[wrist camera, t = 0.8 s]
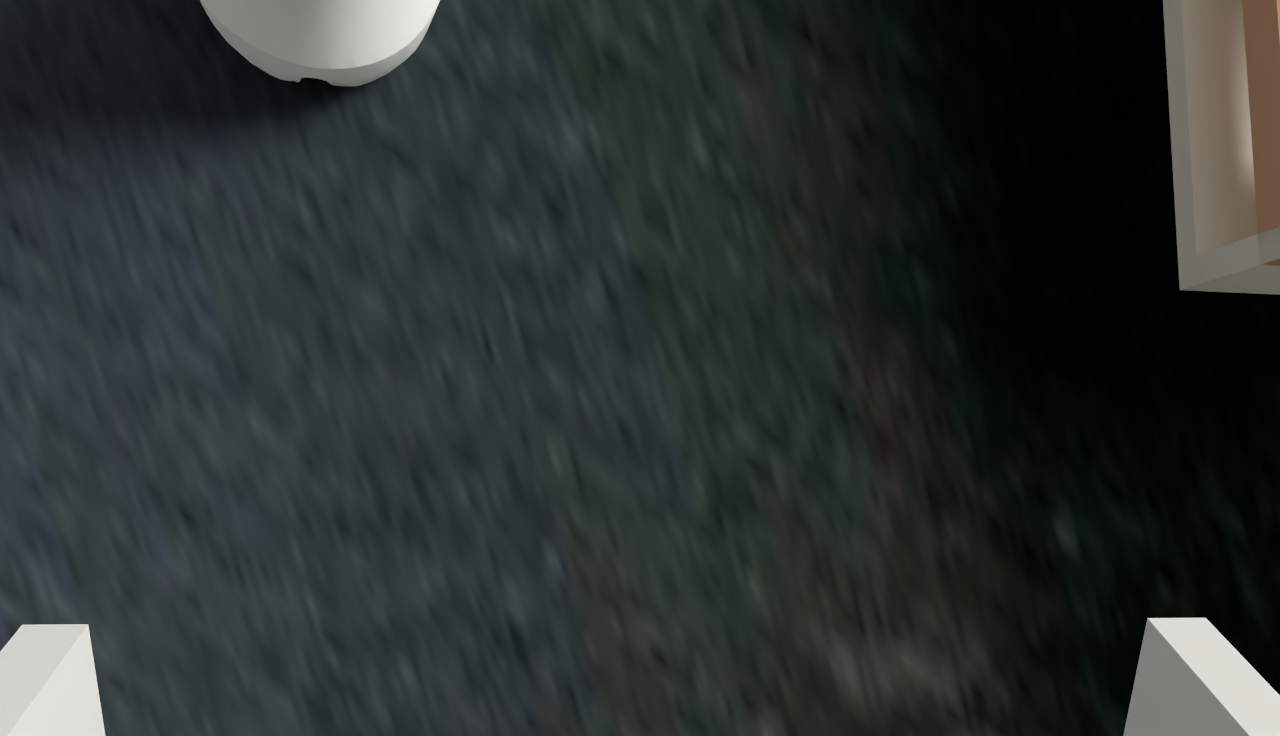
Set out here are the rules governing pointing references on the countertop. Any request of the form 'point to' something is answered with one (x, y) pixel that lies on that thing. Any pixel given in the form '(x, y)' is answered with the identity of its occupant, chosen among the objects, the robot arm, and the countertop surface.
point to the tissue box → (1225, 142)
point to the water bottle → (323, 35)
